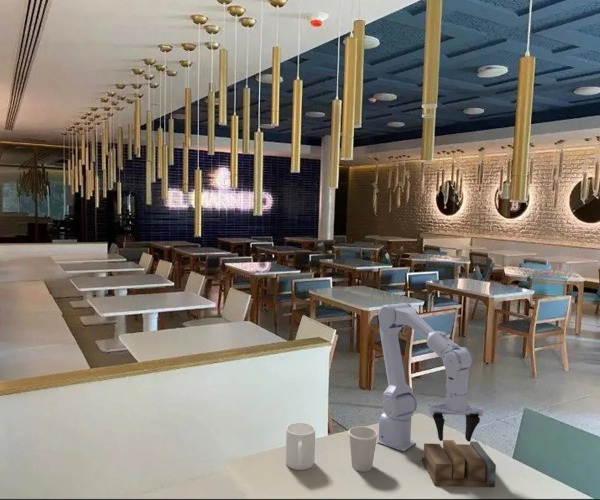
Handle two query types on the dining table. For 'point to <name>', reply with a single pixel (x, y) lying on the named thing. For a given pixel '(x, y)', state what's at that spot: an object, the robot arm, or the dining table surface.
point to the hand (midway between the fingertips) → (454, 439)
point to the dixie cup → (362, 447)
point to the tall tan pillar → (455, 458)
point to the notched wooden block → (475, 471)
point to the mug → (300, 446)
